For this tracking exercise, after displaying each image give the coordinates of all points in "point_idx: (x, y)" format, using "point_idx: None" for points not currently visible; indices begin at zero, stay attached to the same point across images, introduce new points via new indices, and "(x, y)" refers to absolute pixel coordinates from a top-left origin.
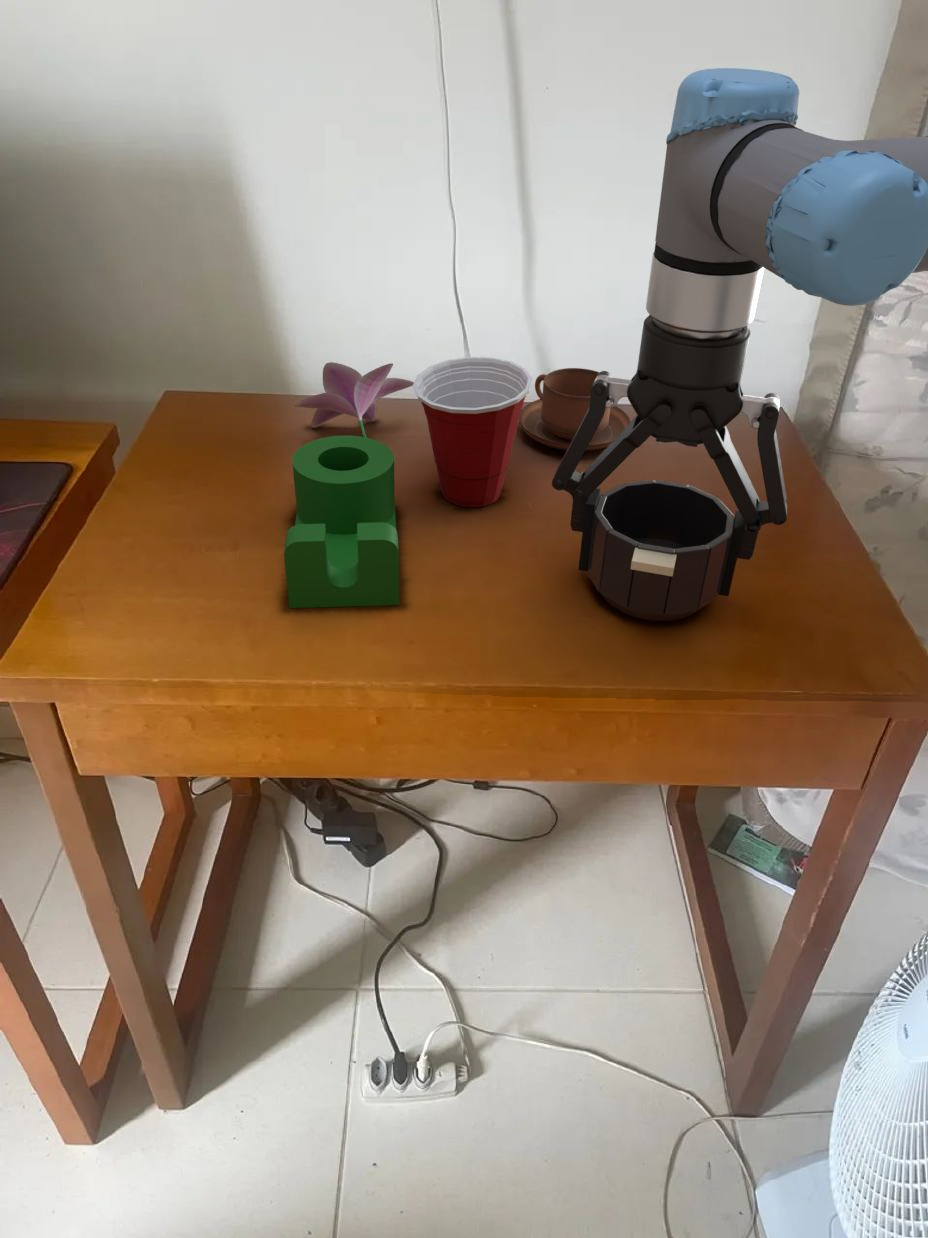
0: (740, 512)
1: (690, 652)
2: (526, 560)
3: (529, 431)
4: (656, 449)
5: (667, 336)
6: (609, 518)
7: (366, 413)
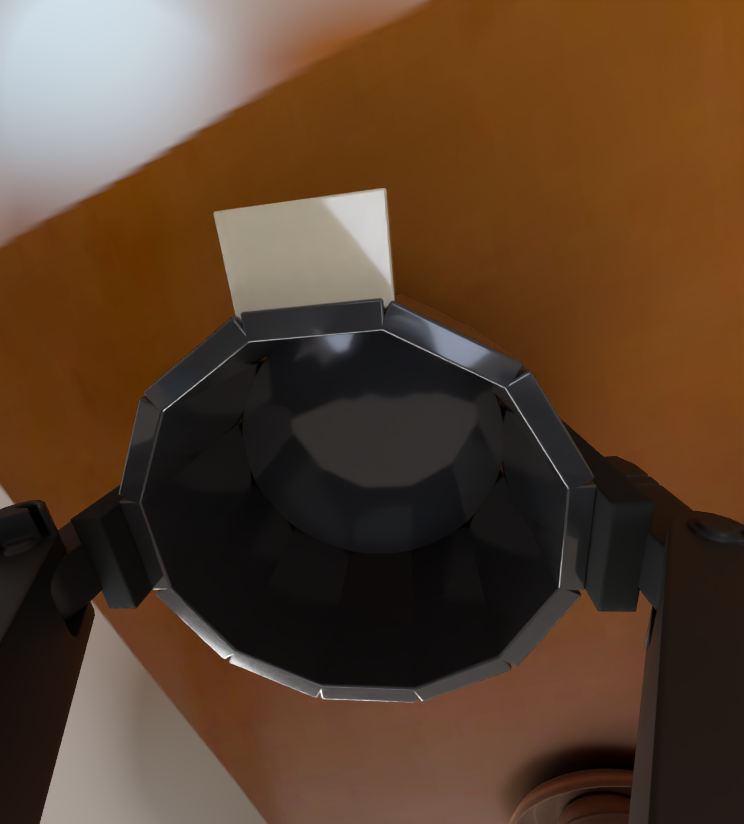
0: (39, 566)
1: None
2: (649, 437)
3: None
4: (453, 789)
5: None
6: (512, 541)
7: None
